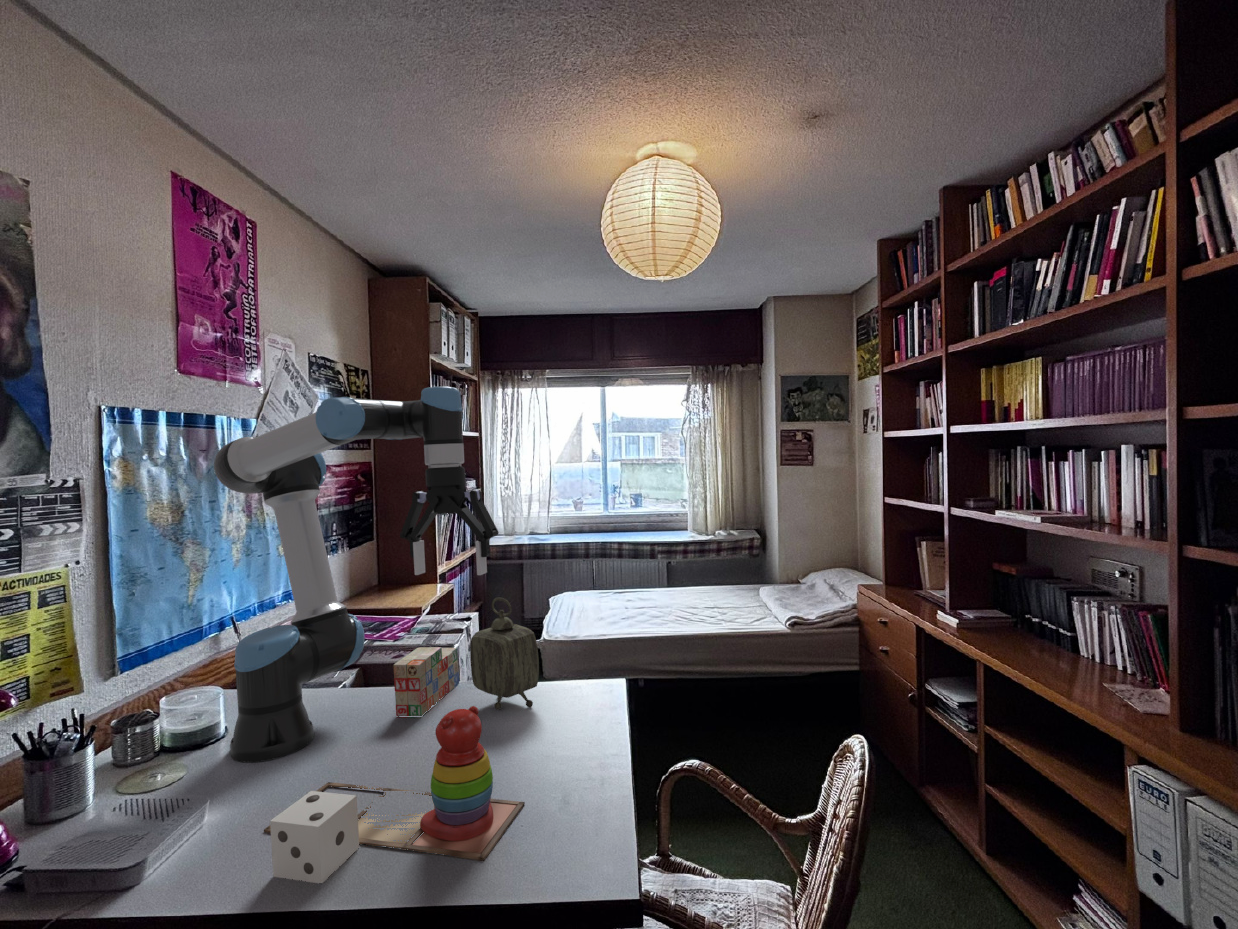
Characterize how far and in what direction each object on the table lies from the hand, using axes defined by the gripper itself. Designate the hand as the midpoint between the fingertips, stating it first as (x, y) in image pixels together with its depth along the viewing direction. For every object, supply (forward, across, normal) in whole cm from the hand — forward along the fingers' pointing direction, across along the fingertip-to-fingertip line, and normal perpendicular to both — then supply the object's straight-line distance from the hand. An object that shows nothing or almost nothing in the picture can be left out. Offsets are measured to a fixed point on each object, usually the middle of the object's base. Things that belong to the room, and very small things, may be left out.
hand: (450, 574), depth 125 cm
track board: (+35, -2, +24) cm, 42 cm away
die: (+35, +3, +36) cm, 50 cm away
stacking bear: (+34, -14, +24) cm, 44 cm away
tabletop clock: (+35, 0, -21) cm, 41 cm away
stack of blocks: (+35, +20, -22) cm, 46 cm away
